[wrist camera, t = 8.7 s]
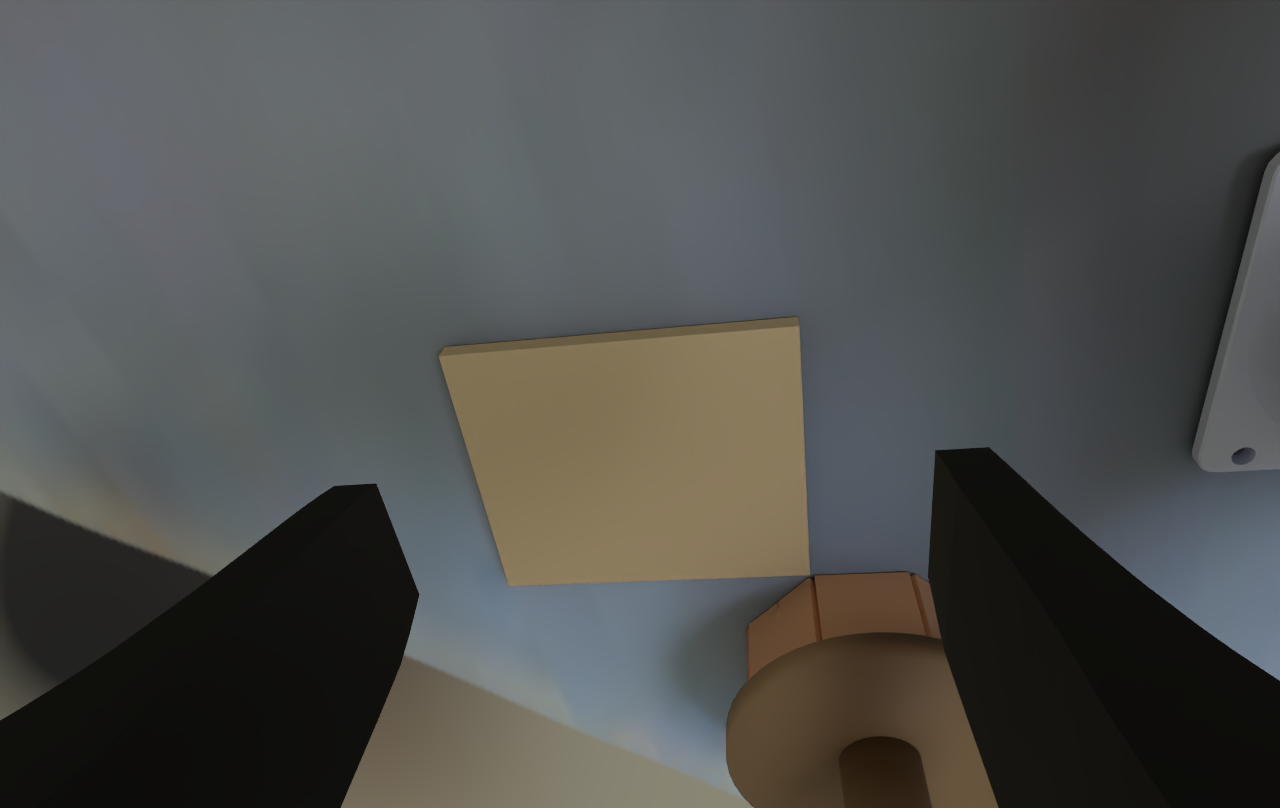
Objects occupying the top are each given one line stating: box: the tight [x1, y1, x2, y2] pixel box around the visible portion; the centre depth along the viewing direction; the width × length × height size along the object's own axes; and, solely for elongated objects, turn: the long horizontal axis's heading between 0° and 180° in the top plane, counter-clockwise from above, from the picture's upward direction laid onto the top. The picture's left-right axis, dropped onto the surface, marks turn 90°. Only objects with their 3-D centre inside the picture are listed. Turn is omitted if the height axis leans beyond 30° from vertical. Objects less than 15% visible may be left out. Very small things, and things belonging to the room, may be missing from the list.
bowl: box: [746, 572, 941, 680], centre depth 24 cm, size 7×7×3 cm
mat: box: [439, 317, 810, 586], centre depth 22 cm, size 9×8×1 cm
